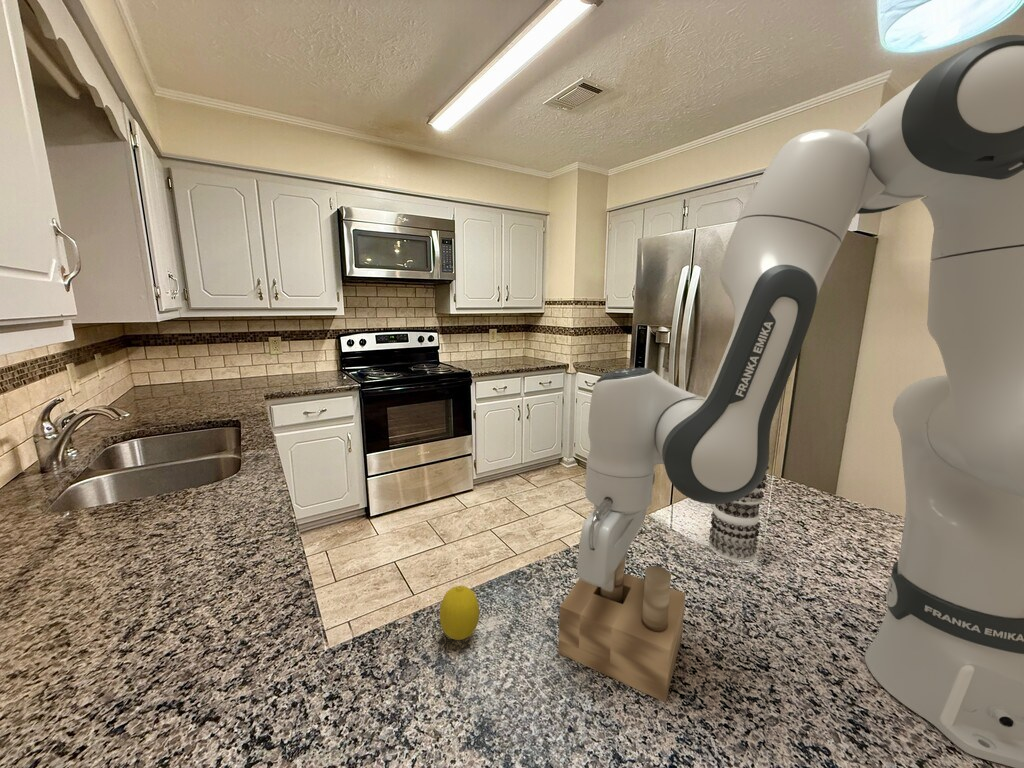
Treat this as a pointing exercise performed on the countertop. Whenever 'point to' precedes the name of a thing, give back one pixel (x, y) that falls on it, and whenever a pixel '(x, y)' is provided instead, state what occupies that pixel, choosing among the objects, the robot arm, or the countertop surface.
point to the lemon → (459, 612)
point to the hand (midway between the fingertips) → (612, 579)
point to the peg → (617, 591)
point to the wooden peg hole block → (626, 630)
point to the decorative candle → (737, 526)
